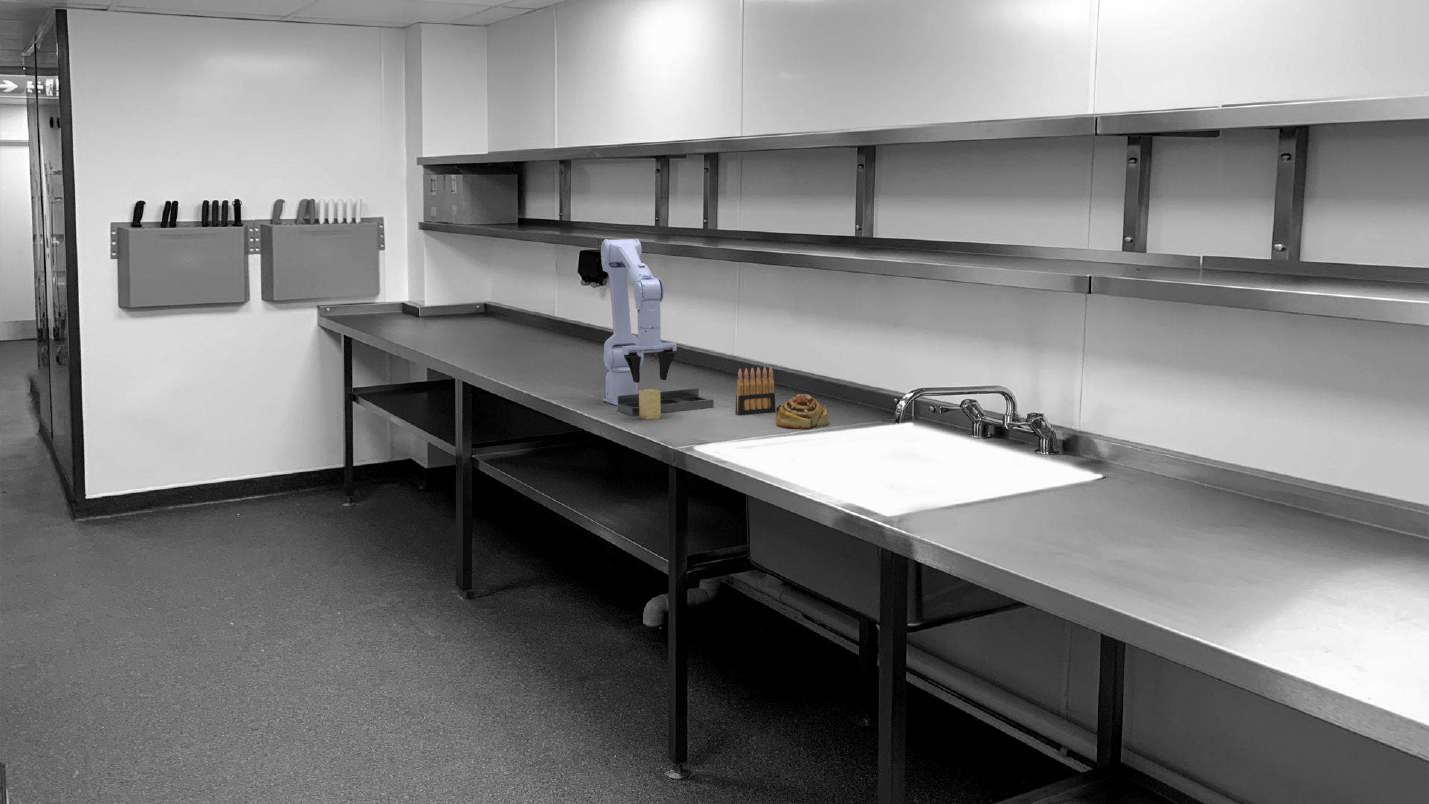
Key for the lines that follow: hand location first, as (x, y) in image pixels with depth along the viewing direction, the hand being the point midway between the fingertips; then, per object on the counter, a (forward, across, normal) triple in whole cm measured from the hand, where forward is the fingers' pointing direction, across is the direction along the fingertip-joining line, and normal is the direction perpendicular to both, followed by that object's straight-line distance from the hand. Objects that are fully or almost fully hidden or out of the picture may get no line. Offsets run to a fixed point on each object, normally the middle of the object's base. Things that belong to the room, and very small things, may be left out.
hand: (649, 380), depth 303 cm
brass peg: (+9, 0, 0) cm, 9 cm away
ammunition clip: (+10, +26, -9) cm, 29 cm away
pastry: (+10, +28, -27) cm, 40 cm away
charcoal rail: (+9, +9, +8) cm, 15 cm away
